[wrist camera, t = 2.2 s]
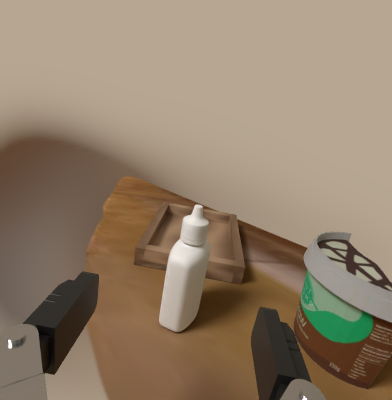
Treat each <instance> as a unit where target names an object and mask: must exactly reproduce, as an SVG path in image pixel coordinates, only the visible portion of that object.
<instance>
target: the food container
mask: <svg viewBox="0 0 392 400" xmlns="http://www.w3.org/2000/svg"><path fill="white" fill-rule="evenodd" d="M350 236H351V233H345V232H325V233H322V234H320V235H318V237H317V238H316V239H314V240H313V241H312V243H311V245H310V246H309V247H308V249H307V251H306V252H305V254H304V262H305V265H306V267H307V268H308V270H307V274H306V278H305V282H304V286H303V290H302V294H301V298H300V302H299V306H298V310H297V314H296V318H295V322H294V332H295V335H296V338H297V340H298V342H299V344H300V345H301V347H302V348H303V349H304V351H305V352H306V353H307V354H308V355H309V356H310V357H311V358H312V359H313V360H314V361H315V362H316V363H317V364H318V365H319V366H321V367H322V368H323V369H325V370H326V371H327V372H329V373H330V374H332V375H334V376H335V377H337V378H339V379H341V380H343V381H345V382H347V383H350V384H352V385H355V386H358V387H362V388H366V389H368V388H369V387H370V385H371V384H372V383H373V381H374V380H375V378H376V377H377V375H378V374H379V373H380V371H381V370H382V368H383V367H384V365H385V364H386V363H387V361H388V360H389V358H390V357H391V355H392V284H391V282H390V281H389V280H388V278H387V277H386V276H385V274H384V273H383V272H382V270H381V269H380V268H379V267H378V266H377V265H376V264H375V263H374V262H372V261H371V260H369V259H368V258H366V257H365V256H363V255H362V254H361V253H359V252H358V251H357V250H356V249H355V248H354V247H353V246H352V245H351V244H350V243H349V239H350Z"/></svg>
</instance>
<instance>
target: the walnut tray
mask: <svg viewBox="0 0 392 400" xmlns="http://www.w3.org/2000/svg"><path fill="white" fill-rule="evenodd" d="M193 209H194V207H189V206H184V205H178V204H173V203H167V202H163V203H162V205H161V207H160V208H159V210H158V211H157V213H156V215H155V216H154V218H153V220H152V221H151V223H150V225H149V226H148V228H147V230H146V231H145V233H144V234H143V236H142V238H141V239H140V241H139V243H138V244H137V246H136V249H135V259H134V264H135V265H141V266H146V267H151V268H157V269H162V270H167V264H168V258H169V254H170V252H171V249H172V247H173V246H174V244H175V243H176V242H177V241H178V240H179V239H180V235H181V229H182V222H183V218H184V217H185V216H188V215H191V214H192V212H193ZM203 217H204V218H206V219H207V220H208V221H209V227H208V232H207V237H206V240H207V241H208V242H209V245H210V256H209V261H208V266H207V271H206V276H205V278H210V279H216V280H221V281H226V282H232V283H237V284H241V282H242V278H243V274H244V271H245V263H244V257H243V252H242V246H241V240H240V234H239V229H238V223H237V217H236V215H234V214H228V213H223V212H217V211H211V210H206V209H203Z"/></svg>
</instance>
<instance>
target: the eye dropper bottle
mask: <svg viewBox="0 0 392 400" xmlns="http://www.w3.org/2000/svg"><path fill="white" fill-rule="evenodd" d="M208 227H209V221H208V220H207V219H206V218H204V217H203V207H202V206H201V205H195V207H194V209H193V212H192V214H191V215H188V216H185V217H184V218H183V222H182V229H181V235H180V239H179V240H178V241H177V242H176V243H175V244H174V246H173V247H172V249H171V252H170V254H169V258H168V264H167V270H166V276H165V283H164V289H163V296H162V303H161V309H160V316H159V323H160V325H162V326H163V327H165V328H167V329H169V330H172V331H174V332H180V331H182V330H184V329H185V328H187V327H188V326H189V325H190V324H191V323H192V322H193V320H194V319H195V317H196V315H197V313H198V309H199V305H200V300H201V295H202V290H203V286H204V281H205V276H206V271H207V266H208V261H209V256H210V245H209V242H208V241H207V240H206V237H207V232H208Z"/></svg>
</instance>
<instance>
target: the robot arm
mask: <svg viewBox="0 0 392 400" xmlns="http://www.w3.org/2000/svg"><path fill="white" fill-rule="evenodd" d="M98 284H99V275H98V274H94V273H89V272H84V271H83V272H82V273H80V275H79V276H78V277H77V278H76V279H75V280H74V281H73V280H67V281H66V282H64V283H62V284H60V285H59V286H58V287H57V288H56V289H55V290H54V291H53V292H52V294H50V295H49V296H48V297H47V298H46V300H45V301H44V302H43V303H42V304H41V305H40V306H39V307H38V308H37V309H36V310H35V311H34V312H33V313H32V314H31V315H30V316H29V317H28V318H27V320H26V321H25V322H24V323H23V324H19V325H15V326H12V327H9V328H7V329H5V330H4V331H2V332H1V333H0V400H47V393H46V384H45V376H44V374H45V373H48V374H53V375H54V374H55V373H56V372H57V370H58V368H59V367H60V365H61V364H62V362H63V360H64V359H65V357H66V356H67V354H68V353H69V351H70V349H71V348H72V346H73V345H74V343H75V341H76V340H77V338H78V337H79V335H80V333H81V332H82V330H83V329H84V327H85V325H86V324H87V322H88V321H89V319H90V318H91V316H92V314H93V313H94V310H95V308H96V305H97V299H98ZM251 347H252V354H253V360H254V367H255V374H256V381H257V387H258V394H259V400H326V398H325V396H324V394H323V393H322V392H321V391H320V390H319V389H318V388H317V387H316V386H315V385H314V384H312V382H311V379H310V377H309V374H308V371H307V368H306V365H305V362H304V360H303V357H302V354H301V352H300V348H299V345H298V344H297V340H296V337H295V334H294V332H293V331H292V329H291V328H290V327H289V326H288V324H287V323H283V322H280V319H279V315H278V312H277V310H275V309H270V308H265V307H260V308H259V311H258V314H257V317H256V321H255V324H254V327H253V331H252V336H251Z"/></svg>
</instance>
